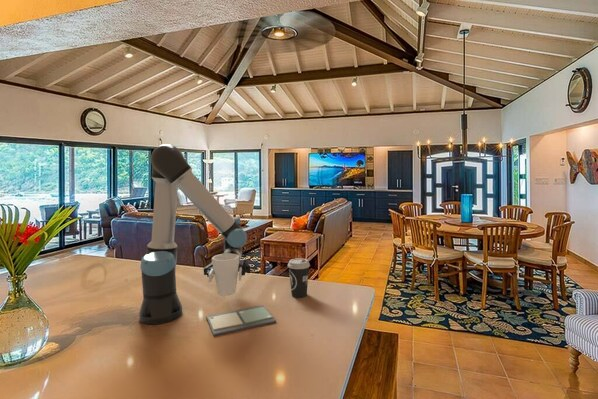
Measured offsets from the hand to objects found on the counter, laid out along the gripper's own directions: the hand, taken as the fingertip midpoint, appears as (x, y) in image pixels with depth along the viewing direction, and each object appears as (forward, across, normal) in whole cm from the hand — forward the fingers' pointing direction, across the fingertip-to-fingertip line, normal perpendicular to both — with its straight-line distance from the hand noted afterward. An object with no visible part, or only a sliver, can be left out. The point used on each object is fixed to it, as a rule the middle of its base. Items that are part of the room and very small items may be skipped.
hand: (224, 277), depth 118 cm
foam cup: (-4, 0, -7) cm, 8 cm away
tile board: (-4, -5, -18) cm, 19 cm away
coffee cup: (-25, -28, -18) cm, 42 cm away
